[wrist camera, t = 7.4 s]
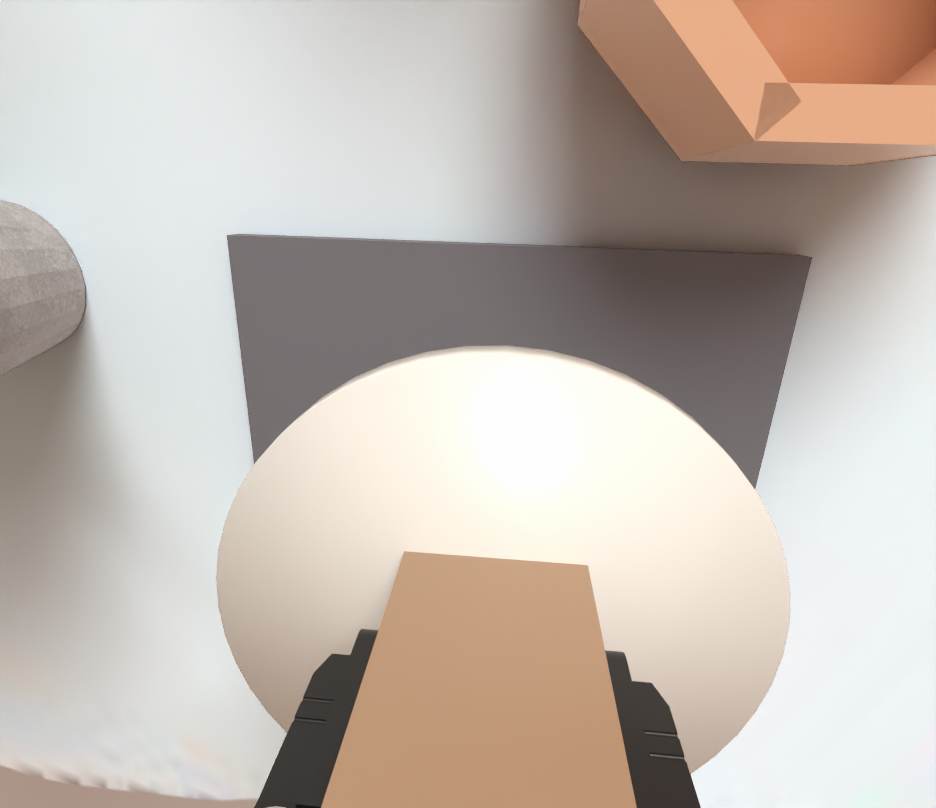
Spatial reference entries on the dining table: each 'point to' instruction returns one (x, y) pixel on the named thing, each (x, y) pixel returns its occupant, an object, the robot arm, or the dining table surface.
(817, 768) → the dining table surface
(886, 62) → the bowl
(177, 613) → the dining table surface
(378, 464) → the lid
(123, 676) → the dining table surface
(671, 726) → the robot arm
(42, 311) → the house plant
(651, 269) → the mat
